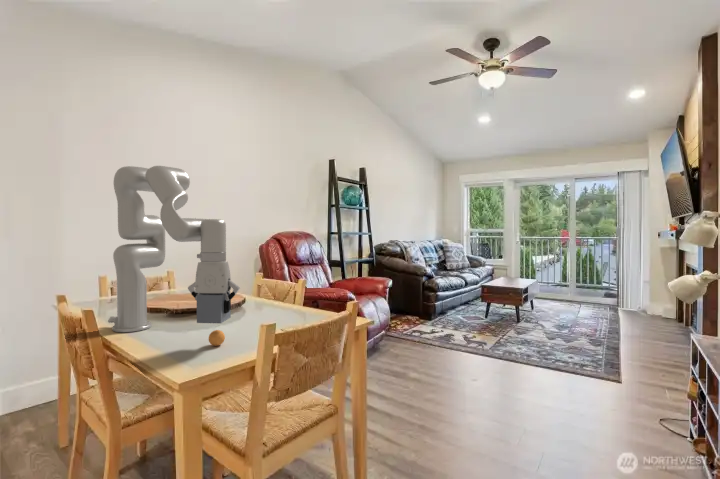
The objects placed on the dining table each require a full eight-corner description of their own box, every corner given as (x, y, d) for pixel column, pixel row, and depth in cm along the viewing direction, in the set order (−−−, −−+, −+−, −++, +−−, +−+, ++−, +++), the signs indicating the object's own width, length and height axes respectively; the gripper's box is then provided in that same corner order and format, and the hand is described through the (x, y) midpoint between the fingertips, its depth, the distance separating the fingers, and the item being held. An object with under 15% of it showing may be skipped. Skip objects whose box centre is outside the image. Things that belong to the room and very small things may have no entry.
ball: (204, 340, 121) (209, 327, 125) (209, 349, 124) (213, 336, 128) (220, 339, 121) (224, 326, 124) (224, 348, 124) (228, 335, 128)
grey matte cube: (196, 322, 119) (196, 295, 119) (207, 316, 127) (207, 290, 126) (220, 323, 119) (220, 295, 118) (230, 317, 126) (230, 291, 126)
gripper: (180, 258, 119) (181, 314, 119) (235, 259, 118) (236, 315, 118) (192, 256, 126) (193, 309, 127) (244, 257, 125) (244, 310, 126)
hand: (213, 312), depth 123 cm, fingers closed on grey matte cube, 7 cm apart
